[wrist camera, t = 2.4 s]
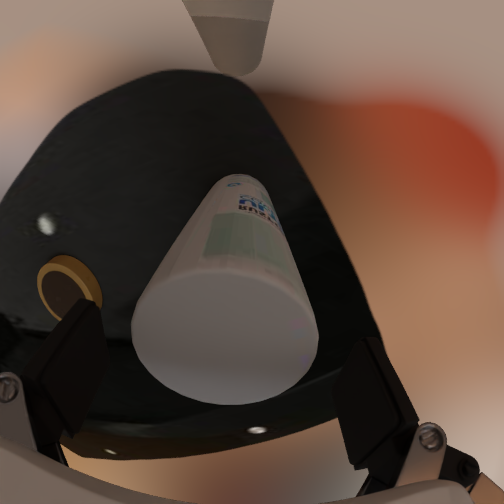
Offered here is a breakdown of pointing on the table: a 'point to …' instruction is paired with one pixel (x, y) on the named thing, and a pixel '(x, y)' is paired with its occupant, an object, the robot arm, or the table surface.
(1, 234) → the table surface
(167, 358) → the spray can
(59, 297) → the stand
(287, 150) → the table surface
